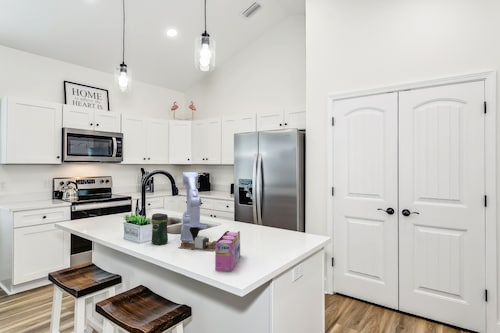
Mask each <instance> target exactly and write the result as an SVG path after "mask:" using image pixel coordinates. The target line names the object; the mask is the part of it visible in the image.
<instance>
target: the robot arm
mask: <svg viewBox="0 0 500 333" xmlns="http://www.w3.org/2000/svg"><path fill="white" fill-rule="evenodd" d="M181 178H182V185H183V186H185V189H186V192H185V193H186V210H185V212H183V214H182V225H181V228H180V241H182V240H188V241H195V238H196V237H198V236H199V235H198V234H199V233H200V230H201V229H203V230H207V229H208V225H207V224H203V223H202V224H201V206H202V199H201V196H200V194H199V190H198V188H197V187H196V185H197V184H198V181H199V172H198V171H191V172H189V171H186V172H185V171H183V172H182V177H181Z"/></svg>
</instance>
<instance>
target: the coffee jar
mask: <svg viewBox="0 0 500 333" xmlns="http://www.w3.org/2000/svg"><path fill="white" fill-rule="evenodd" d="M168 220H169V219H168V214H166V213H159V212H158V213H153V214H152V215H151V224H152V228H151V230H152V231H151V232H152V233H151V244H152V245H153V244H154V245H158V246H160V245H166V244H167V243H168V242H169V238H168V235H169V234H168Z"/></svg>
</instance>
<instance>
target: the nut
mask: <svg viewBox="0 0 500 333" xmlns="http://www.w3.org/2000/svg"><path fill="white" fill-rule="evenodd" d="M206 242H210V238H209V237H206V238H205V239H204V240H203V249H206V248H207V247H208V246H206Z"/></svg>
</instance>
